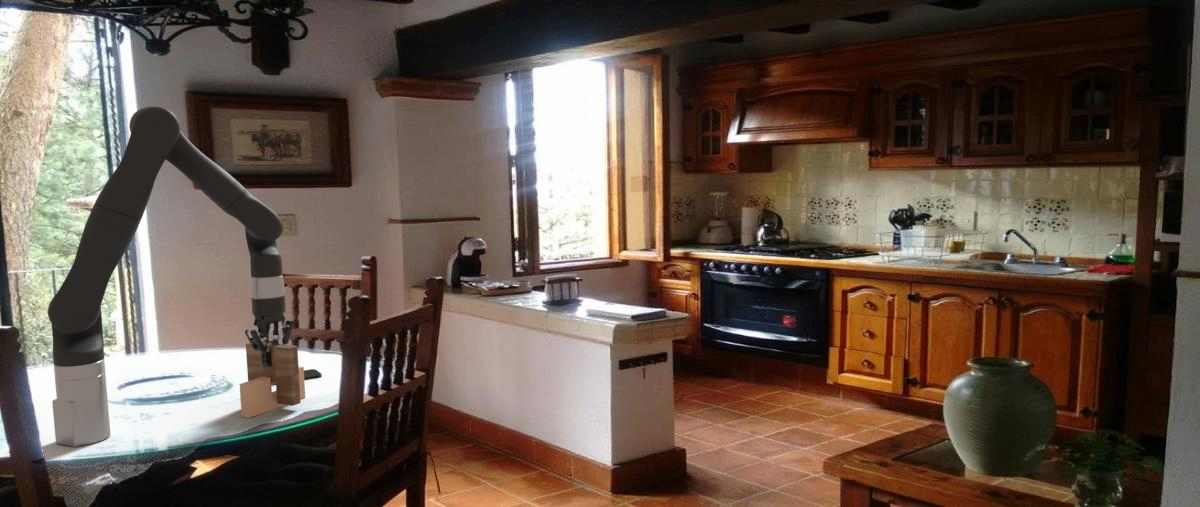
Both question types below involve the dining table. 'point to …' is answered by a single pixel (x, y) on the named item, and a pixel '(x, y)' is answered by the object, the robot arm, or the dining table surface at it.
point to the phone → (309, 375)
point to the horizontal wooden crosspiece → (263, 395)
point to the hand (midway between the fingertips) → (272, 364)
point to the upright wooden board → (277, 371)
